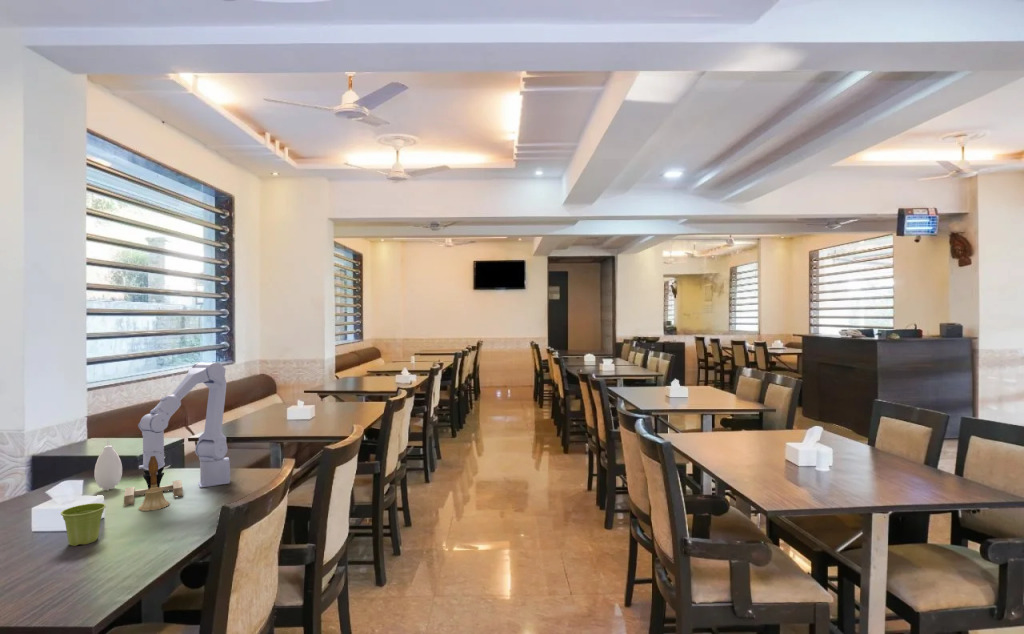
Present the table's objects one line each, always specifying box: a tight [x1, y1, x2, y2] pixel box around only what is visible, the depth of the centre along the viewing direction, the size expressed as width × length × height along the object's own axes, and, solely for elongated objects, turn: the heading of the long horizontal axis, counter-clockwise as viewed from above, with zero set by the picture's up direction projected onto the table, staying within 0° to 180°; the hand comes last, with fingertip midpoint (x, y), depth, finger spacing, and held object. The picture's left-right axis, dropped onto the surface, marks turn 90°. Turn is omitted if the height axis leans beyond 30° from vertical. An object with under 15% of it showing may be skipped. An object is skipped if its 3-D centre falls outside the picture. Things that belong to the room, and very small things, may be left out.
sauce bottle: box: [93, 438, 123, 491], centre depth 193 cm, size 8×8×18 cm
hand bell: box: [137, 456, 171, 512], centre depth 173 cm, size 8×8×16 cm
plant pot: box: [60, 502, 107, 547], centre depth 144 cm, size 9×9×9 cm
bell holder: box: [123, 479, 184, 506], centre depth 183 cm, size 16×11×3 cm
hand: (153, 492), depth 178 cm, fingers open, 6 cm apart
